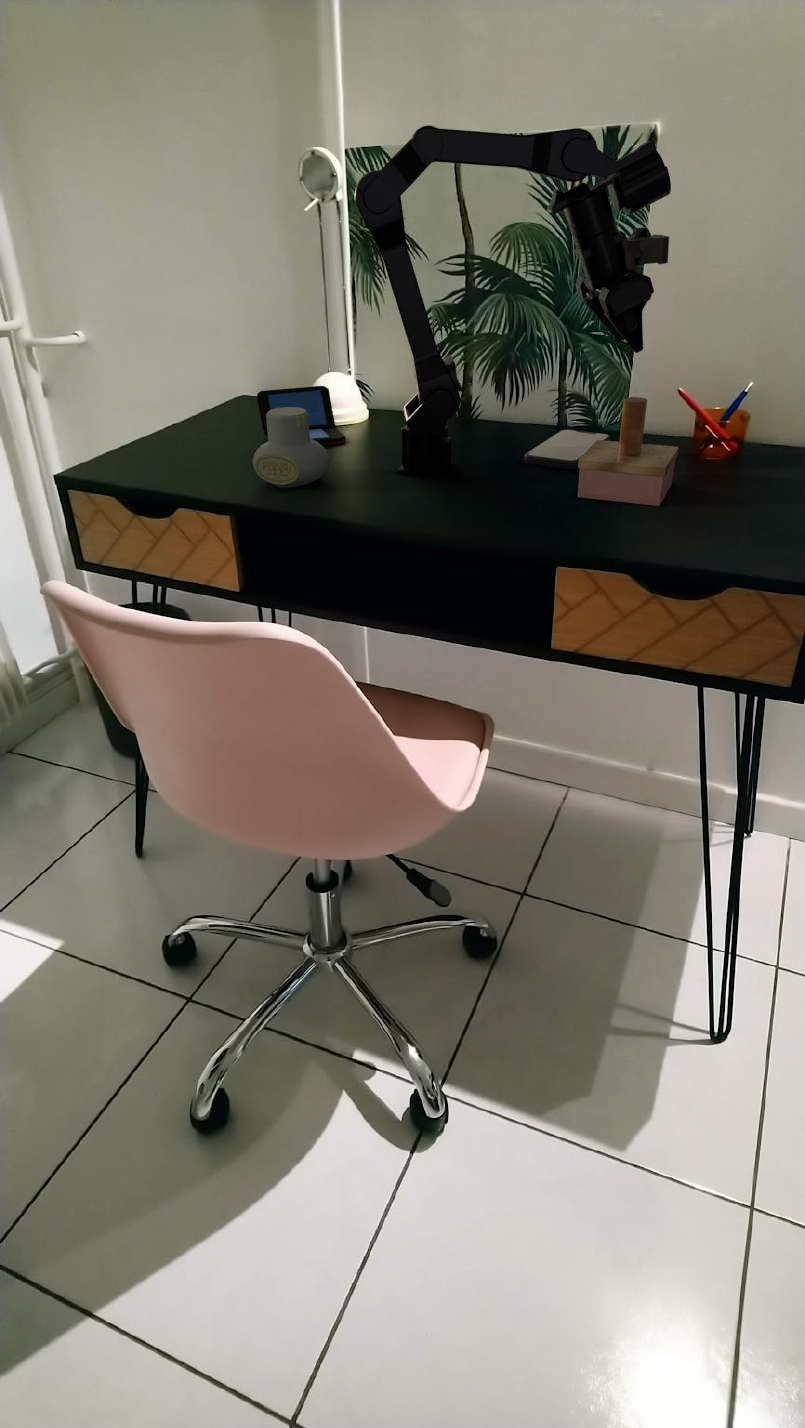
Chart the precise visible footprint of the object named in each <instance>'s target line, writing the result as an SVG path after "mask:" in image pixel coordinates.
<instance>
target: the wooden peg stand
mask: <svg viewBox="0 0 805 1428" xmlns="http://www.w3.org/2000/svg"><path fill="white" fill-rule="evenodd" d="M647 406H648V399H647V398H645V397H639V396H628V397H625V398H624V399H623V404H622V413H621V422H620V423H621V424H620V431H619V432H620V433H619V441H616V440H614V441H613V440H611V441H604V440H596V441H595V443H594V444H593V445H592V446H591V447H590V448H589V449H588V450H587V451H586V452H585V453H584V455H583V456H582V457H581V458H580V459H579V463H578V468H577V469H579V470H580V469H590V470H601V471H611V472H621V473H631V474H641V475H652V476H662V477H665V475H666V473H667V472H668V470H669V469H670V467H671V465H672V464H673V462H674V460H675V461H676V460H677V457H678V455H679V446H671V445H661V444H649V443H643V439H644V432H645V431H644V430H645V425H646V423H645V422H646V414H647V408H648V407H647Z"/></svg>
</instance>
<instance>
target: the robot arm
mask: <svg viewBox="0 0 805 1428" xmlns="http://www.w3.org/2000/svg"><path fill="white" fill-rule="evenodd" d="M414 131H415V132H414V133H413V134H412V136H411V138H410V139H409V140H408V141H407V142H406V143H405V144H404V145H403V146H402V147H401V148H400V149H399V150H398V151H397V152H396V153H395V154H394V155H393V156H392V157H391V158H390V159H389V160H388V162H387V163H385V164H384V166H383V167H381V169H380V170H377V169H375V170H370V171H368V172H365V173H364V174H363V175H362V176H361V177H360V178H359V179H358V181H357V184H356V186H355V190H354V200H355V205H356V207H357V210H358V212H359V213H360V216H361V218H362V220H363V222H364V224H365V226H366V228H367V230H368V232H369V234H370V236H371V238H372V240H373V241H374V244H375V245H376V247H377V248H376V249H377V250H378V252H379V254H380V256H381V259H382V263H383V265H384V268H385V272H386V275H387V279H388V281H389V286H390V287H391V288H390V289H391V290H392V291H391V292H392V294H393V297H394V300H395V305H396V307H397V310H398V313H399V317H400V319H401V323H402V326H403V329H404V332H405V336H406V339H407V342H408V346H409V348H410V352H411V356H412V364H413V365H412V366H413V373H414V380H415V388H416V393H415V395H414V396H412V398H411V399H410V400H409V401H408V402H407V403H406V404H405V405H404V406H403V408H402V409H403V413H404V418H405V423H406V425H404V426H403V427H401V428H400V429H401V466H400V467H398V468H397V473H401V474H409V475H419V476H428V477H439V476H440V475H442V474H443V473H444V472H446V471H447V470H448V469H449V468H451V467H452V466H453V461H452V438H451V437H450V436H449V426H448V421H449V420H450V419H452V418H453V417H454V416H455V415H456V414H457V413H458V410H459V408H460V407H461V394H460V392H461V393H463V392H464V388H463V385H462V384H461V382H460V380H459V379H458V373H457V365H456V362H455V360H454V358H453V356H452V354H448V355H447V356H445V357H442V355H441V353H440V351H439V349H438V346H437V342H436V340H435V336H434V333H433V329H432V326H431V322H430V320H429V319H430V318H429V316H428V313H427V309H426V306H425V303H424V299H423V295H422V292H421V289H420V286H419V282H418V280H417V279H418V278H417V276H416V272H415V269H414V266H413V263H412V258H411V256H410V255H411V254H410V252H409V249H408V245H407V235H406V229H405V228H406V227H405V219H404V211H403V203H402V195H403V194H404V193H405V192H406V191H407V190H408V189H409V188H410V187H411V186H412V185H413V184H414V182H416V180H417V179H418V178H419V177H420V176H421V175H422V174H423V173H424V172H425V171H426V170H427V169H428V167H430V166H431V164H433V163H447V164H458V165H459V164H460V165H473V166H488V167H500V168H515V169H519V170H524V171H526V172H528V173H529V172H530V173H533V174H536V175H539V176H543V177H545V178H550V179H553V180H556V181H559V182H569V183H575V182H577V183H578V182H580V181H583V180H585V179H586V178H587V177H591V178H592V177H593V178H594V177H595V178H605V179H603V180H601V181H599V182H597V183H596V184H593V185H592V186H589V185H588V184H587V183H586V182H584V181H583V182H581V183H579V184H577V185H575V186H573V187H571V188H570V189H568V190H566V191H562V190H559V189H554V190H553V191H552V196H551V200H550V201H549V203H548V206H547V208H546V211H547V213H549V214H551V215H552V214H553V215H557V214H559V213H560V212H562V211H563V212H564V215H565V218H566V221H567V224H568V227H569V230H570V233H571V236H572V240H573V242H574V246H575V248H573V252H574V255H575V257H576V258H578V259H579V261H580V264H581V267H582V271H583V272H582V273H580V274H578V276H577V278H576V281H575V283H574V286H575V289H576V292H577V295H578V297H579V298H580V299H582V303H584V305H586V307H587V308H588V309H589V310H590V311H591V312H592V314H594V316H595V317H596V318H597V319H598V320H599V322H600V323H601V324H602V325H603V326H604V327H605V329H607V331H608V332H609V333H610V334H611V335H612V337H613V338H614V339H615V340H616V341H617V342H623V341H625V342H626V343H627V345H628V346H629V347H630V348H631V350H632V351H633V352H634V353H635V354H638V353H640V352H642V351H643V350H644V333H643V332H644V330H643V311H644V308H645V307H646V305H647V303H648V302H649V301H650V300H651V298H652V295H653V293H655V289H654V285H653V282H652V279H651V278H652V277H650V276H648V275H645V274H643V273H641V272H639V271H637V270H638V268H637V266H640V265H641V266H642V265H651V264H658V265H665V264H668V262H669V250H670V248H669V247H670V236H668V235H664V234H652V233H651V232H650V229H649V228H648V227H645V226H643V227H635V228H634V229H633V231H632V232H631V235H630V237H629V236H627V234H626V232H623V231H622V230H619V228H618V225H617V221H616V218H615V214H614V211H613V208H614V209H615V211H616V212H618V213H619V212H621V211H623V212H624V214H625V215H626V216H628V217H629V216H631V215H632V214H634V213H636V212H639V211H640V210H642V209H645V208H646V207H648V206H650V205H653V204H654V203H656V202H657V201H660V200H661V199H663V198H665V197H667V196H669V195H671V192H672V182H671V181H672V180H671V177H670V173H669V168H668V166H667V165H665V162H664V160H663V157H662V155H661V154H660V153H659V151H658V150H657V147H656V143H655V141H654V140H650V141H646V142H644V143H642V144H641V145H639V146H638V147H637V148H635V149H633V150H632V151H630V152H628V153H627V154H625V155H623V156H622V157H620V158H618V159H616V160H615V159H614V158H613V157H612V156H609V155H608V154H606V153H604V152H603V151H602V150H600V149H599V148H598V144H597V141H596V139H595V137H594V136H593V133H591V132H590V131H589V130H587V129H584V128H580V127H576V128H575V127H574V128H567V129H560V130H552V131H545V132H537V133H531V134H529V133H528V134H517V133H516V134H515V133H506V132H505V133H504V132H490V131H477V130H476V131H474V130H467V129H466V130H465V129H452V128H440V127H436V126H434V125H429V124H428V125H422V126H421V127H419V128H417V129H416V130H414ZM607 190H608V192H607ZM608 194H609V195H608ZM611 203H612V205H611ZM612 206H613V208H612Z"/></svg>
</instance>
